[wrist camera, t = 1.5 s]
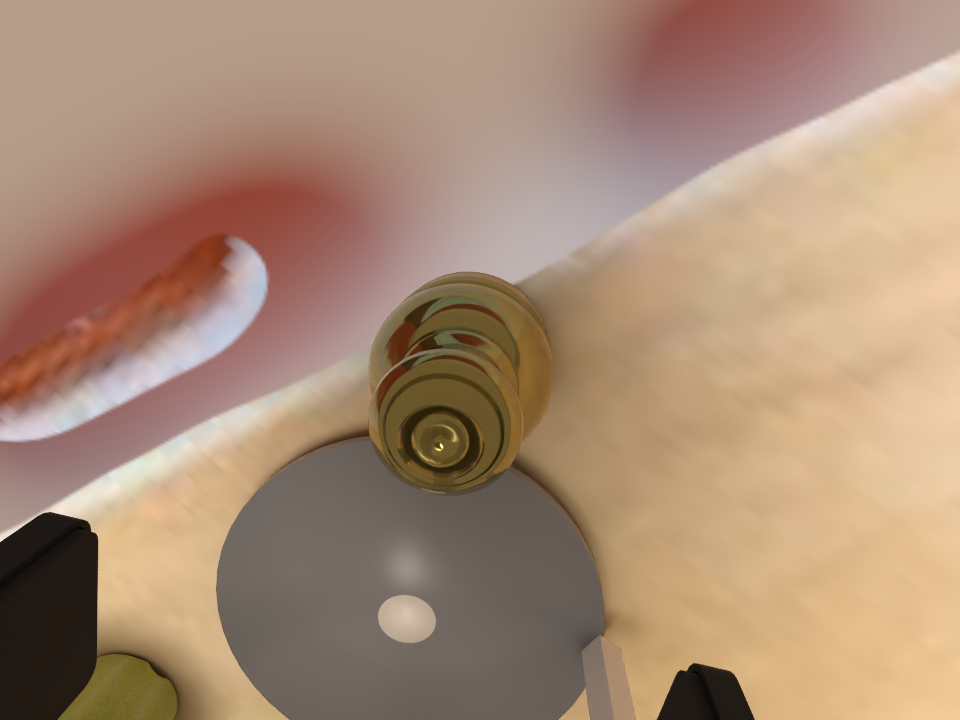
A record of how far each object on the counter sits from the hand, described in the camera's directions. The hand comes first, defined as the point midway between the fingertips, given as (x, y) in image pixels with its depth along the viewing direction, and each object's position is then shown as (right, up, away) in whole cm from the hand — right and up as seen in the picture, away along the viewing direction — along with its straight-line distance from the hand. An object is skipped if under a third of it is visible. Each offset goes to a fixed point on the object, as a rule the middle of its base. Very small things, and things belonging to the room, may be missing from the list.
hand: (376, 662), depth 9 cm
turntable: (-2, -8, +22) cm, 23 cm away
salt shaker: (+1, +5, +18) cm, 18 cm away
